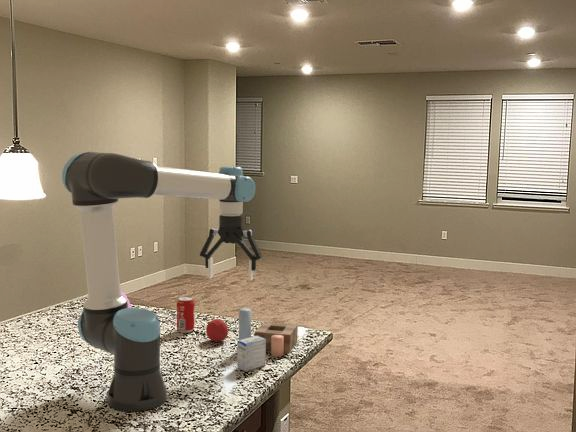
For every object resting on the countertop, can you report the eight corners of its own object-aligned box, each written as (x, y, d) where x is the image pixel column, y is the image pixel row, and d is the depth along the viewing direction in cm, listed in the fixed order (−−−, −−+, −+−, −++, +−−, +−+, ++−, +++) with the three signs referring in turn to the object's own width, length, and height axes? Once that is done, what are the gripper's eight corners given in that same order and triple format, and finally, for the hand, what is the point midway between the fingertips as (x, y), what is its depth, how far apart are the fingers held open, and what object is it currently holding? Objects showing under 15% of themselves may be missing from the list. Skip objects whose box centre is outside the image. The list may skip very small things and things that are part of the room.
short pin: (281, 357, 200) (282, 339, 199) (269, 356, 201) (270, 338, 200) (284, 353, 204) (284, 335, 203) (272, 352, 205) (273, 334, 204)
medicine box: (256, 362, 195) (256, 335, 194) (265, 365, 192) (266, 338, 191) (236, 368, 189) (237, 340, 188) (246, 372, 186) (246, 343, 185)
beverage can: (197, 330, 227) (198, 298, 226) (186, 334, 222) (186, 301, 220) (184, 327, 230) (184, 295, 229) (173, 331, 225) (173, 298, 224)
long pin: (248, 354, 202) (249, 311, 201) (236, 352, 203) (237, 310, 201) (252, 350, 206) (252, 308, 204) (240, 349, 207) (241, 307, 205)
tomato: (208, 319, 210) (225, 311, 216) (198, 329, 215) (214, 320, 221) (221, 339, 208) (237, 331, 214) (210, 349, 214) (226, 340, 219)
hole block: (289, 352, 204) (290, 334, 204) (254, 349, 207) (254, 331, 206) (297, 341, 216) (297, 324, 215) (263, 338, 219) (263, 321, 218)
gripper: (271, 214, 203) (270, 278, 205) (197, 211, 207) (197, 274, 210) (266, 217, 196) (265, 283, 198) (190, 214, 200) (190, 279, 203)
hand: (230, 279), depth 204 cm, fingers open, 13 cm apart
